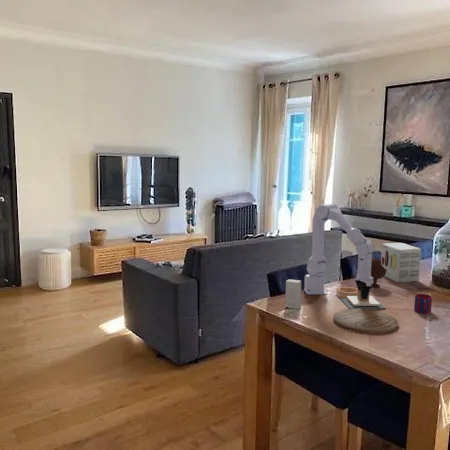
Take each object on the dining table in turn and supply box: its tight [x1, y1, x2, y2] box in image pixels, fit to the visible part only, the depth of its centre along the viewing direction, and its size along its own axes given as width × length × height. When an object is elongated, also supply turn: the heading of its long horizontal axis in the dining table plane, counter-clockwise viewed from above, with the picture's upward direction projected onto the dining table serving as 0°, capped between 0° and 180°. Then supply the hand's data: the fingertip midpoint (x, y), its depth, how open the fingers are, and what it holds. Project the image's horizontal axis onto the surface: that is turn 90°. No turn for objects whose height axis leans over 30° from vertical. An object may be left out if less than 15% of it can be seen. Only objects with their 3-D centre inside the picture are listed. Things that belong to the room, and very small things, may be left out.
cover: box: [347, 290, 381, 306], centre depth 209 cm, size 12×12×5 cm
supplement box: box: [380, 242, 422, 283], centre depth 253 cm, size 17×13×18 cm
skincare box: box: [285, 278, 302, 310], centre depth 204 cm, size 6×4×12 cm
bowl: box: [336, 286, 358, 299], centre depth 222 cm, size 10×10×3 cm
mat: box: [340, 298, 386, 310], centre depth 209 cm, size 16×13×1 cm
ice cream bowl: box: [371, 257, 387, 289], centre depth 236 cm, size 11×11×15 cm
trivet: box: [332, 308, 399, 335], centre depth 187 cm, size 25×25×2 cm
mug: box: [413, 293, 433, 315], centre depth 198 cm, size 7×10×7 cm
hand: (362, 297), depth 209 cm, fingers closed on cover, 4 cm apart
